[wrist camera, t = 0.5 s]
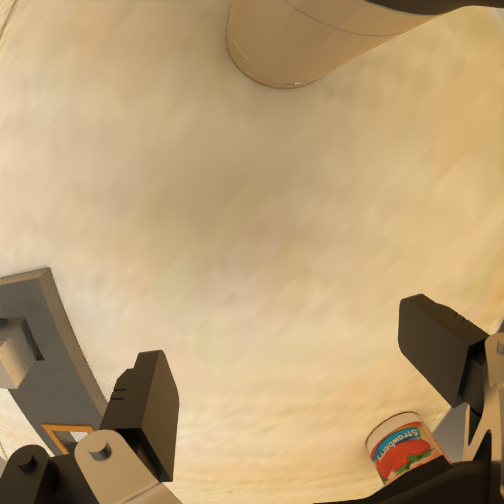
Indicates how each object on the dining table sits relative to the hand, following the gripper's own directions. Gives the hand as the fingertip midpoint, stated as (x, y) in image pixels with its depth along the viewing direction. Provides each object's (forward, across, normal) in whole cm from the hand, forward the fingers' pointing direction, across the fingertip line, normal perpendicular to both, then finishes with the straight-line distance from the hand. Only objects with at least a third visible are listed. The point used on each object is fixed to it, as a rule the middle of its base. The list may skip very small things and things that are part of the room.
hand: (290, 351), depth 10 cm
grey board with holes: (+19, +24, +13) cm, 34 cm away
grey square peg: (+18, +24, +5) cm, 31 cm away
